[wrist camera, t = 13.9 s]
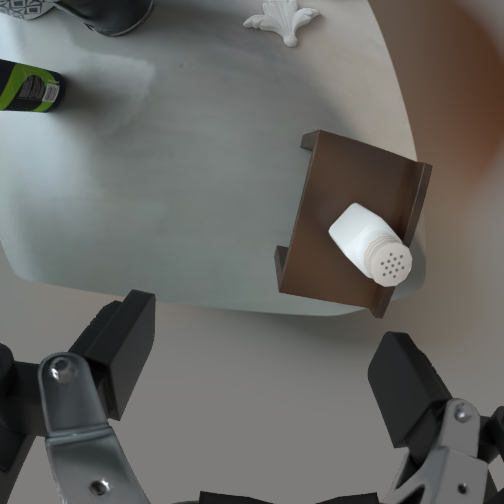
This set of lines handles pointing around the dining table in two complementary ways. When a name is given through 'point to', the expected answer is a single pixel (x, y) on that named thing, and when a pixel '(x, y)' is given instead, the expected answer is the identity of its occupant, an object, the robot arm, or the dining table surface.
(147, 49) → the dining table surface
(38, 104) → the beverage can
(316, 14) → the acanthus leaf ornament
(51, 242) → the dining table surface
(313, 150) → the wooden table
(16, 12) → the planter
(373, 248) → the salt shaker
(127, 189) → the dining table surface
